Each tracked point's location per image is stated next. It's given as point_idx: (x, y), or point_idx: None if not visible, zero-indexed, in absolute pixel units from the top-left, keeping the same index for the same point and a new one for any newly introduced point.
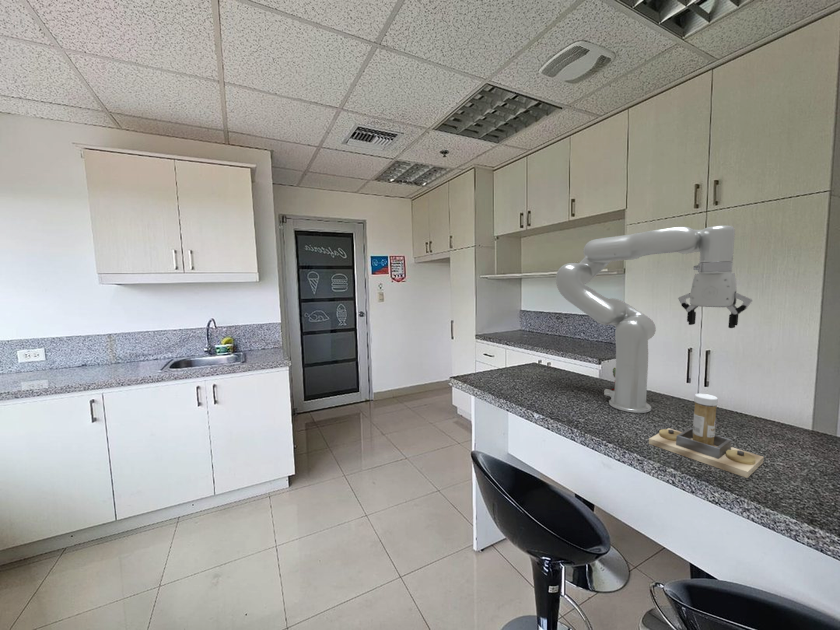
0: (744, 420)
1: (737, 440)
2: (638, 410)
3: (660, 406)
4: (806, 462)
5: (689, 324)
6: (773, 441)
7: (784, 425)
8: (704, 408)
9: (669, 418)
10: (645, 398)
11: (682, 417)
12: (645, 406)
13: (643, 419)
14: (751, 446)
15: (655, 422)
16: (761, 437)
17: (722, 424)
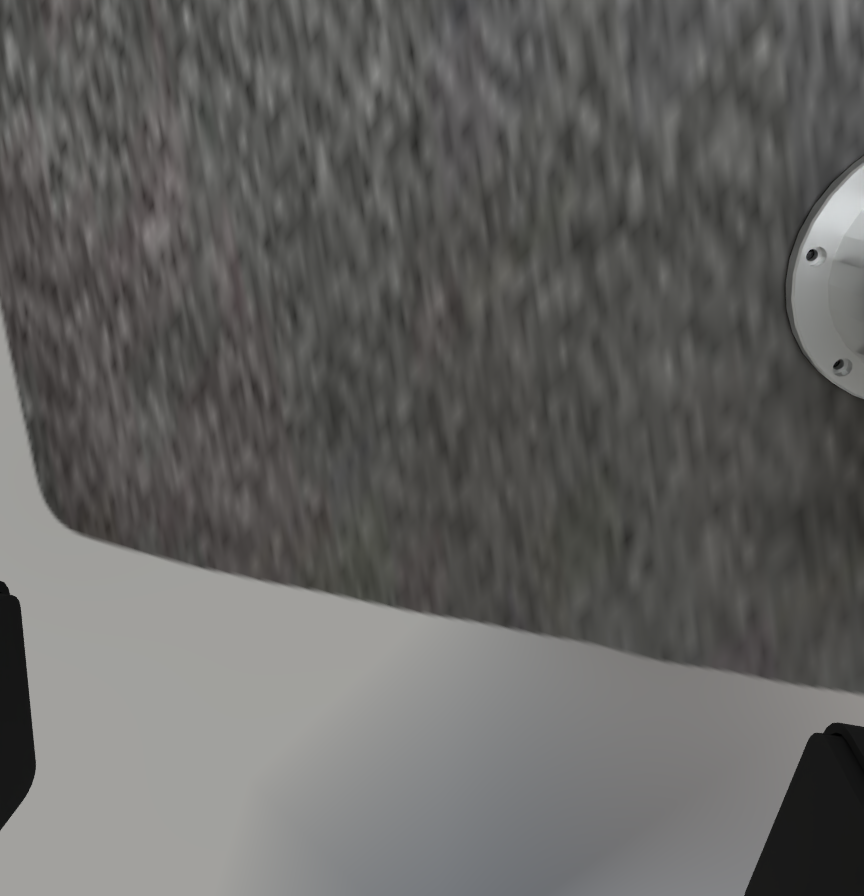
0: (339, 511)
1: (302, 122)
2: (862, 162)
3: (741, 439)
4: (28, 48)
5: (860, 726)
6: (184, 263)
7: (201, 563)
8: None
9: (660, 227)
10: (858, 285)
11: (598, 313)
12: (828, 286)
13: (803, 54)
14: (235, 77)
15: (724, 57)
16: (232, 283)
17: (406, 355)
